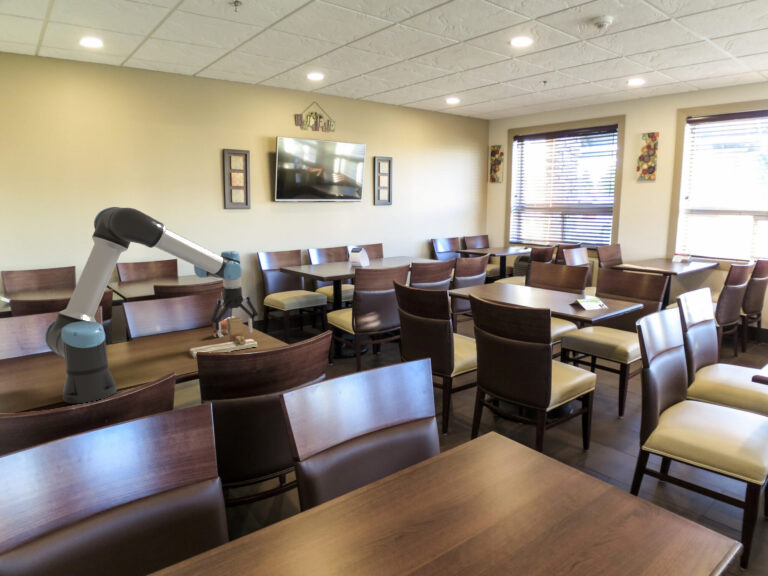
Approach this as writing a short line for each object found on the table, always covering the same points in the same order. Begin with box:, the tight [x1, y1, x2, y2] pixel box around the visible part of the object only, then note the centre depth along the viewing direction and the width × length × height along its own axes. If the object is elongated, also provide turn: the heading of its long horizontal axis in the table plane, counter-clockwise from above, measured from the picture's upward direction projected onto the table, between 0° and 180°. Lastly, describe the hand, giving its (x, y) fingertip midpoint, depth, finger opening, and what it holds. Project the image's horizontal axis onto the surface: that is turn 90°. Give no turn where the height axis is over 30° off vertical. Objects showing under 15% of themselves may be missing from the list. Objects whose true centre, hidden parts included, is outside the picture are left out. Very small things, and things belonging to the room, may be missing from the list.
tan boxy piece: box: [226, 316, 246, 344], centre depth 214 cm, size 14×5×11 cm, turn 33°
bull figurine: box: [212, 315, 236, 338], centre depth 231 cm, size 4×13×8 cm, turn 148°
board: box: [189, 338, 259, 359], centre depth 208 cm, size 8×26×2 cm, turn 123°
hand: (235, 334), depth 218 cm, fingers open, 13 cm apart
